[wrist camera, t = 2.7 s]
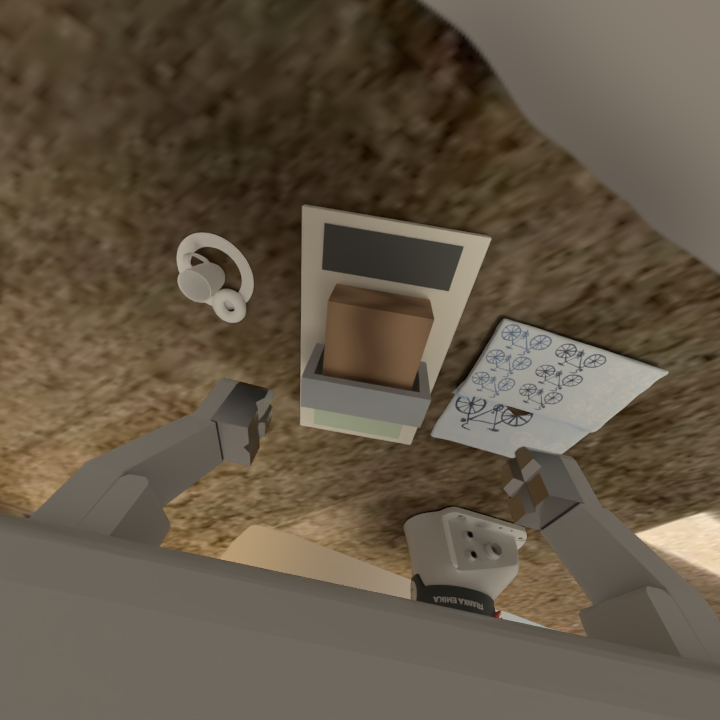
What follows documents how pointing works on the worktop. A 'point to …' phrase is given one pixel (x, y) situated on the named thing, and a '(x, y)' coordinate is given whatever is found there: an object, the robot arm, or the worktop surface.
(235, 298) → the white ring-shaped piece
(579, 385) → the bicycle print towel
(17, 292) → the worktop surface
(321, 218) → the board
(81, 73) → the worktop surface
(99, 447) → the worktop surface
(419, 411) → the tunnel
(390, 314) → the wood grain block
